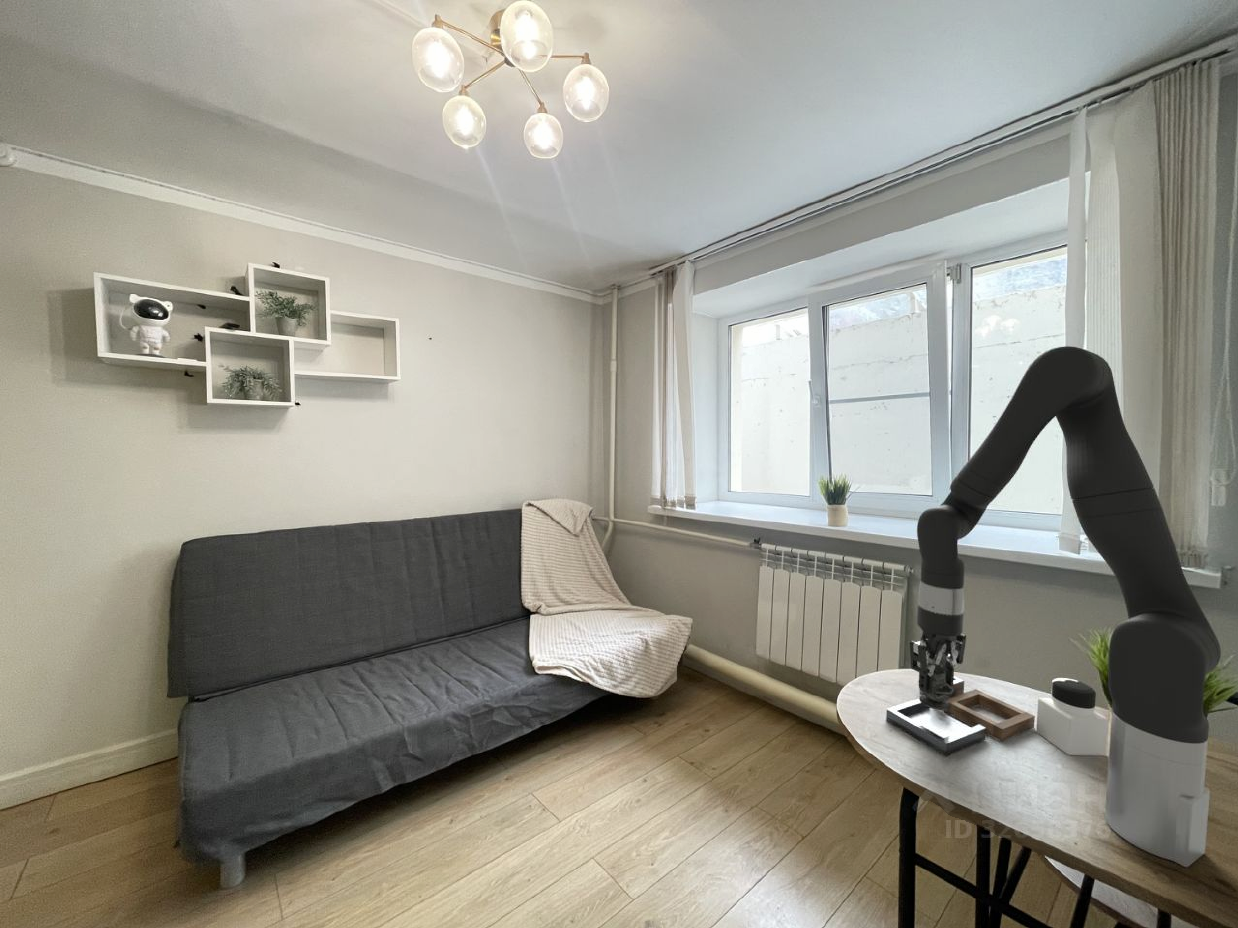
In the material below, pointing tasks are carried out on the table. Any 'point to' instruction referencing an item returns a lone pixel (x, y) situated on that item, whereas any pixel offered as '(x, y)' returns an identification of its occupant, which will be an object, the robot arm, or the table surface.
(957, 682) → the housing
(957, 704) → the socket collar
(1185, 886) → the table surface
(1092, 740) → the medicine bottle
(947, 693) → the dark grey chess piece
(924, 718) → the tray
